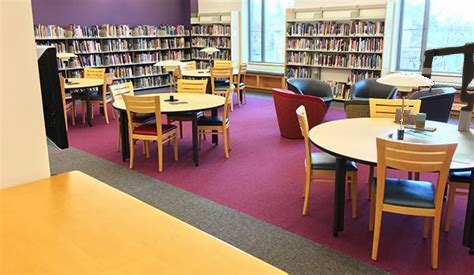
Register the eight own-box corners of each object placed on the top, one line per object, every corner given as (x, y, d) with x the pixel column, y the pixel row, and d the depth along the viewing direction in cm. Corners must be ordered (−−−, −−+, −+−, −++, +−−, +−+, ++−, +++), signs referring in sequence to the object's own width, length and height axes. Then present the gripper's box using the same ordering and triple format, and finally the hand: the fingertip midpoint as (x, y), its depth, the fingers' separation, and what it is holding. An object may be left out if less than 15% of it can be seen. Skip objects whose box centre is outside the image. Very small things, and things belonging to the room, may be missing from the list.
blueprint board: (407, 125, 374) (408, 124, 374) (436, 129, 360) (436, 127, 359) (403, 127, 365) (403, 126, 364) (432, 131, 350) (433, 130, 350)
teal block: (418, 119, 364) (419, 112, 363) (425, 120, 361) (426, 113, 359) (416, 120, 360) (417, 113, 359) (423, 121, 356) (424, 114, 355)
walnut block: (417, 126, 366) (418, 119, 365) (424, 127, 362) (425, 120, 361) (415, 127, 361) (416, 120, 360) (422, 128, 358) (423, 121, 356)
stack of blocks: (417, 124, 383) (419, 111, 380) (413, 124, 380) (414, 111, 377) (398, 120, 401) (400, 107, 398) (394, 120, 398) (395, 108, 395)
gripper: (436, 73, 349) (434, 92, 353) (419, 72, 358) (416, 91, 362) (434, 74, 344) (432, 93, 348) (416, 73, 352) (414, 91, 356)
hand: (424, 92), depth 355 cm, fingers open, 8 cm apart
